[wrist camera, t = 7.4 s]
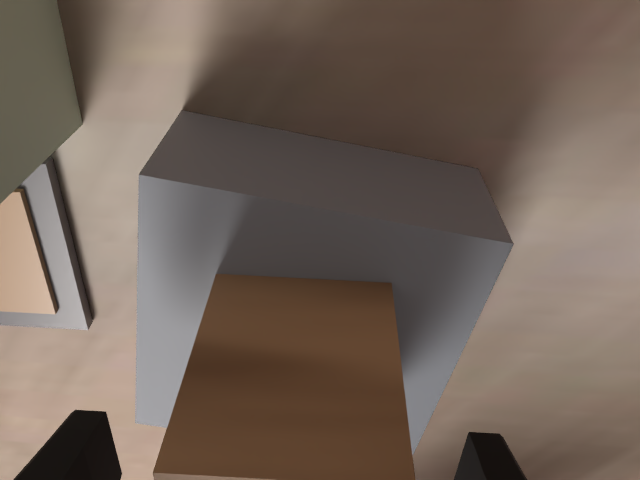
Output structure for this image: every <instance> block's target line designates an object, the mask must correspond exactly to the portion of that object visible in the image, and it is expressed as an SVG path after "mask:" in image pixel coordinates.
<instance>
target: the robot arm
mask: <svg viewBox="0 0 640 480" xmlns="http://www.w3.org/2000/svg"><path fill="white" fill-rule="evenodd" d="M121 475H122V472H121V468H120V464H119V460H118V456H117V453H116V449H115V445H114V441H113V437H112V433H111V429H110V425H109V422H108V418H107V414H106V412H102V411H84V410H75V411H74V412H72V413H71V414H70V415H69V416H68V417H67V419H66V420H65V421H64V422H63V423H62V425H61V426H60V427H59V428H58V429H57V430H56V432H55V433H54V434H53V435H52V436H51V437H50V439H49V440H48V441H47V442H46V443H45V444H44V446H43V447H42V448H41V449H40V450H39V451H38V452H37V454H36V455H35V456H34V457H33V458H32V459H31V460H30V462H29V463H28V464H27V465H26V466H25V467H24V468H23V469H22V471H21V472H20V473H19V474H18V475H17V476H16V477H15V478H14V480H120V479H121ZM454 480H527V479H526V477H525V475H524V474H523V472H522V470H521V468H520V467H519V465H518V463H517V461H516V460H515V458H514V456H513V454H512V452H511V451H510V449H509V447H508V445H507V443H506V442H505V440H504V438H503V437H502V436H501V435H500V434H494V433H476V432H469V433H468V436H467V439H466V442H465V446H464V449H463V452H462V455H461V459H460V462H459V465H458V468H457V471H456V475H455V478H454Z"/></svg>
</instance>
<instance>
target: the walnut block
mask: <svg viewBox="0 0 640 480" xmlns="http://www.w3.org/2000/svg"><path fill="white" fill-rule="evenodd" d="M153 476H154V480H415V473H414V465H413V457H412V448H411V440H410V432H409V423H408V415H407V407H406V398H405V390H404V382H403V373H402V365H401V357H400V349H399V340H398V332H397V324H396V315H395V307H394V299H393V290H392V283H384V282H365V281H346V280H327V279H308V278H288V277H269V276H250V275H231V274H216V275H215V278H214V282H213V285H212V288H211V291H210V294H209V297H208V301H207V304H206V307H205V310H204V313H203V316H202V319H201V323H200V326H199V329H198V332H197V335H196V338H195V342H194V345H193V348H192V351H191V354H190V357H189V360H188V364H187V367H186V370H185V373H184V376H183V379H182V383H181V386H180V389H179V392H178V395H177V398H176V401H175V405H174V408H173V411H172V414H171V417H170V420H169V424H168V427H167V430H166V433H165V436H164V439H163V442H162V446H161V449H160V452H159V455H158V458H157V461H156V465H155V468H154V471H153Z"/></svg>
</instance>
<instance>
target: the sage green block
mask: <svg viewBox="0 0 640 480" xmlns="http://www.w3.org/2000/svg"><path fill="white" fill-rule="evenodd" d="M81 125H82V119H81V114H80V110H79V105H78V100H77V95H76V90H75V85H74V81H73V76H72V71H71V66H70V61H69V57H68V52H67V47H66V42H65V37H64V32H63V28H62V23H61V18H60V13H59V8H58V4H57V0H0V204H1V203H2V202H3V201H4V200H5V199H6V198H7V197H8V196H9V195H10V194H11V193H12V192H13V191H14V190H15V189H16V188H17V187H18V186H19V185H20V184H21V183H22V182H23V181H24V180H25V179H27V178H28V177H29V176H30V175H31V174H32V173H33V172H34V171H35V170H36V169H37V168H38V167H39V166H40V165H41V164H42V163H43V162H44V161H45V160H46V159H47V158H48V157H49V156H50V155H51V154H52V153H53V152H54V151H55V150H57V149H58V148H59V147H60V146H61V145H62V144H63V143H64V142H65V141H66V140H67V139H68V138H69V137H70V136H71V135H72V134H73V133H74V132H75V131H76V130H77V129H78V128H79V127H80V126H81Z"/></svg>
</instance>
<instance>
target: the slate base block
mask: <svg viewBox="0 0 640 480" xmlns="http://www.w3.org/2000/svg"><path fill="white" fill-rule="evenodd" d="M512 246H513V242H512V240H511V237H510V235H509V233H508V231H507V229H506V227H505V225H504V223H503V220H502V218H501V216H500V214H499V212H498V210H497V208H496V206H495V204H494V201H493V199H492V197H491V195H490V193H489V191H488V189H487V187H486V184H485V182H484V180H483V178H482V176H481V174H480V172H479V170H478V169H477V168H472V167H467V166H462V165H457V164H452V163H447V162H442V161H437V160H432V159H427V158H422V157H417V156H411V155H406V154H401V153H396V152H391V151H386V150H381V149H376V148H371V147H366V146H361V145H356V144H351V143H345V142H340V141H335V140H330V139H325V138H320V137H315V136H310V135H305V134H300V133H295V132H290V131H285V130H280V129H274V128H269V127H264V126H259V125H254V124H249V123H244V122H239V121H234V120H229V119H224V118H219V117H214V116H208V115H203V114H198V113H193V112H188V111H183V110H182V111H181V112H180V114H179V115H178V117H177V118H176V120H175V121H174V123H173V124H172V126H171V127H170V129H169V130H168V132H167V133H166V135H165V136H164V138H163V139H162V141H161V142H160V144H159V145H158V147H157V148H156V150H155V151H154V153H153V154H152V156H151V157H150V159H149V160H148V162H147V163H146V165H145V166H144V168H143V169H142V171H141V172H140V174H139V199H138V270H137V340H136V411H135V423H138V424H145V425H151V426H158V427H165V428H167V427H168V424H169V420H170V417H171V414H172V411H173V408H174V405H175V401H176V398H177V395H178V392H179V389H180V386H181V383H182V379H183V376H184V373H185V370H186V367H187V364H188V360H189V357H190V354H191V351H192V348H193V345H194V342H195V338H196V335H197V332H198V329H199V326H200V323H201V319H202V316H203V313H204V310H205V307H206V304H207V301H208V297H209V294H210V291H211V288H212V285H213V282H214V278H215V275H216V274H231V275H250V276H269V277H288V278H308V279H327V280H346V281H365V282H384V283H392V290H393V299H394V307H395V315H396V324H397V332H398V340H399V349H400V357H401V365H402V373H403V382H404V390H405V398H406V407H407V415H408V423H409V432H410V440H411V448H412V456H413V454H414V452H415V449H416V447H417V445H418V443H419V441H420V439H421V437H422V435H423V433H424V431H425V429H426V426H427V424H428V422H429V420H430V418H431V416H432V414H433V412H434V410H435V408H436V406H437V403H438V401H439V399H440V397H441V395H442V393H443V391H444V389H445V387H446V385H447V382H448V380H449V378H450V376H451V374H452V372H453V370H454V368H455V366H456V364H457V362H458V359H459V357H460V355H461V353H462V351H463V349H464V347H465V345H466V343H467V341H468V339H469V336H470V334H471V332H472V330H473V328H474V326H475V324H476V322H477V320H478V318H479V316H480V313H481V311H482V309H483V307H484V305H485V303H486V301H487V299H488V297H489V295H490V292H491V290H492V288H493V286H494V284H495V282H496V280H497V278H498V276H499V274H500V272H501V269H502V267H503V265H504V263H505V261H506V259H507V257H508V255H509V253H510V251H511V249H512Z"/></svg>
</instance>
